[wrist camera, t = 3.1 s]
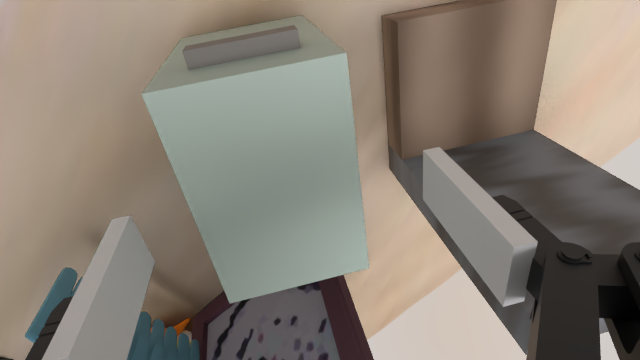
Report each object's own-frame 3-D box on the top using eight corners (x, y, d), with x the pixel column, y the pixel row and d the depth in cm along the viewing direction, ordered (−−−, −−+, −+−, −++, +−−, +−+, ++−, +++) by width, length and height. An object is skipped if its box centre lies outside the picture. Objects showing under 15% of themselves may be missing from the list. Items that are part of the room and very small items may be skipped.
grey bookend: (389, 169, 32) (526, 355, 17) (381, 16, 26) (593, 96, 10) (506, 141, 33) (734, 295, 18) (527, -13, 26) (918, 23, 11)
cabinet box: (232, 189, 30) (229, 303, 20) (177, 24, 24) (132, 73, 13) (326, 167, 31) (369, 268, 21) (299, 1, 24) (344, 31, 14)
